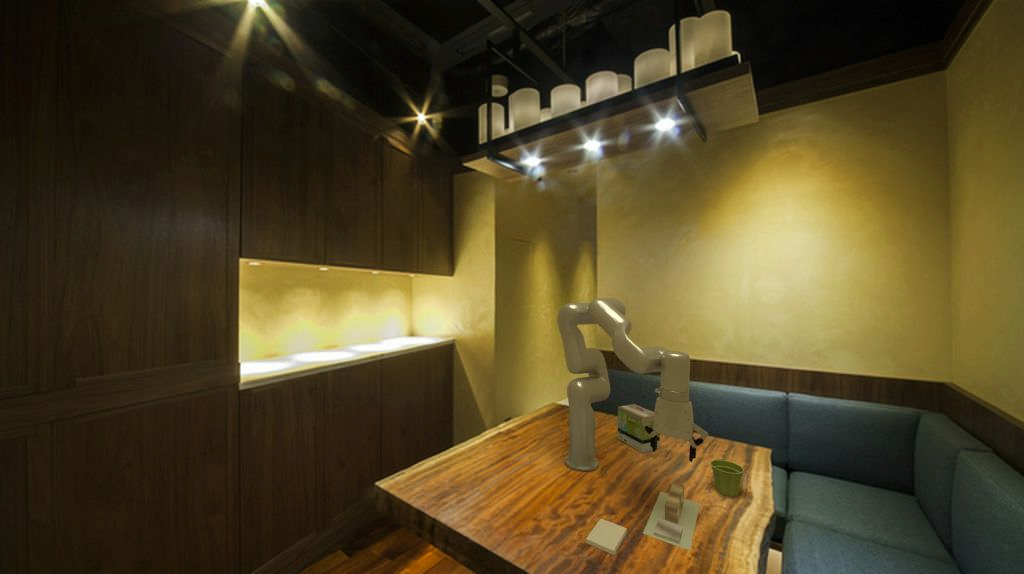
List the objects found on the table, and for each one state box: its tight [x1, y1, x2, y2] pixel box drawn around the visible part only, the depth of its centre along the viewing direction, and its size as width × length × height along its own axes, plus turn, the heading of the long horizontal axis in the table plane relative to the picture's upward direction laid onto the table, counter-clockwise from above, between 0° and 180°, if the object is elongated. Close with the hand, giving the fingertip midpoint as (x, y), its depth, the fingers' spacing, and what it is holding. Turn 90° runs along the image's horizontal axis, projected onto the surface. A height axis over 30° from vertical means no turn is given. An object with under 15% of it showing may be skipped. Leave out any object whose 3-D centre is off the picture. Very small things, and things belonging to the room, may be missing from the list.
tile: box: [585, 518, 628, 556], centre depth 89 cm, size 2×7×10 cm
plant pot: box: [709, 459, 745, 498], centre depth 112 cm, size 9×9×9 cm
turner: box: [654, 482, 685, 544], centre depth 97 cm, size 21×6×5 cm, turn 147°
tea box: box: [617, 403, 661, 453], centre depth 149 cm, size 15×10×15 cm, turn 25°
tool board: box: [642, 491, 701, 552], centre depth 97 cm, size 24×11×1 cm, turn 147°
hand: (672, 455), depth 100 cm, fingers open, 9 cm apart
